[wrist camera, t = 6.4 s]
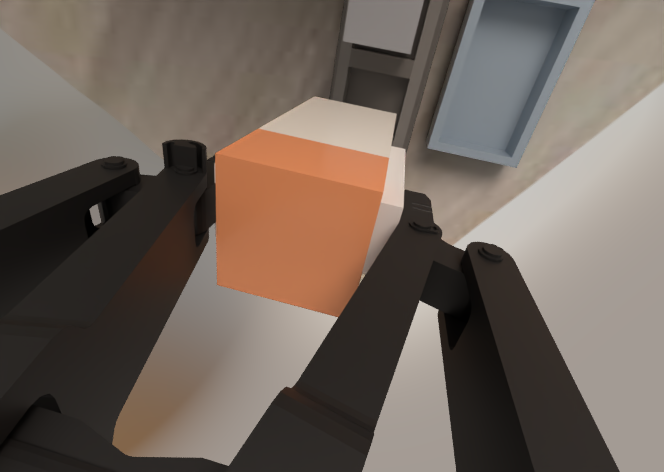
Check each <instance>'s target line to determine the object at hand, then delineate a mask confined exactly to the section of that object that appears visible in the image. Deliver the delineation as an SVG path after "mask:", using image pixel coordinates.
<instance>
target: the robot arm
mask: <svg viewBox="0 0 664 472" xmlns="http://www.w3.org/2000/svg"><path fill="white" fill-rule="evenodd" d="M162 145H163V155H164V164H165V165H164V166H165V168H164V169H163V170H162V171H161V172H160V173H159V174H158V175H157V176H151V175H140V172H139V165H138V163H137V162H136V161H134V160H132V159H127V158H123V157H116V156H111V157H108V158H103V159H98V160H95V161H92V162H89V163H87V164H84V165H82V166H79V167H77V168H73V169H70V170H68V171H65V172H63V173H60V174H57V175H55V176H51V177H49V178H46V179H43V180H41V181H38V182H35V183H32V184H30V185H27V186H25V187H22V188H19V189H16V190H13V191H11V192H8V193H5V194H3V195H0V472H362V470H363V467H364V464H365V461H366V458H367V455H368V452H369V449H370V446H371V443H372V439H373V436H374V430H375V427H376V424H377V421H378V418H379V415H380V412H381V410H382V406H383V404H384V401H385V398H386V395H387V392H388V389H389V386H390V384H391V381H392V378H393V375H394V372H395V369H396V366H397V363H398V361H399V357H400V355H401V352H402V349H403V346H404V343H405V340H406V337H407V335H408V332H409V329H410V326H411V323H412V320H413V317H414V314H415V312H416V309H417V306H418V303H419V300H420V301H422V302H424V303H426V304H428V305H430V306H432V307H434V308H436V309H438V310H439V311H438V322H439V330H440V338H441V347H442V356H443V363H444V372H445V381H446V389H447V397H448V406H449V414H450V422H451V431H452V439H453V447H454V456H455V464H456V472H619V469H618V467H617V465H616V463H615V461H614V460H613V457H612V455H611V454H610V451H609V449H608V448H607V445H606V443H605V441H604V439H603V438H602V436H601V434H600V431H599V429H598V427H597V425H596V424H595V421H594V419H593V417H592V415H591V413H590V411H589V409H588V408H587V405H586V403H585V401H584V399H583V397H582V395H581V393H580V391H579V390H578V387H577V385H576V384H575V381H574V379H573V377H572V375H571V373H570V371H569V370H568V367H567V365H566V363H565V361H564V359H563V357H562V355H561V353H560V351H559V349H558V348H557V345H556V343H555V341H554V339H553V337H552V336H551V333H550V331H549V329H548V327H547V325H546V323H545V321H544V319H543V317H542V315H541V313H540V311H539V309H538V307H537V305H536V303H535V301H534V299H533V297H532V295H531V293H530V291H529V290H528V287H527V285H526V283H525V281H524V279H523V278H522V276H521V273H520V271H519V269H518V267H517V265H516V263H515V261H514V260H513V258H512V257H511V256H510V255H509V254H508V253H506V252H505V251H504V250H503V249H502V248H500V247H497V246H496V245H493V244H488V243H484V242H471V243H470V244H469V245H468V246H467V248H466V250H465V251H463V250H461V249H459V248H456V247H454V246H452V245H450V244H448V243H446V242H444V241H443V240H442V239H441V237H442V230H441V229H440V227H439V226H438V225H436V224H435V223H434V221H433V213H432V208H431V207H432V206H431V200H430V199H429V198H428V197H427V196H426V195H425V194H422V193H417V192H413V191H409V190H404V179H405V149H403V148H398V147H394V146H391V151H390V156H389V162H388V168H387V174H386V180H385V186H384V192H383V196H382V200H381V203H380V207H379V211H378V215H377V218H376V222H375V226H374V230H373V233H372V237H371V241H370V245H369V248H368V252H367V256H366V260H365V263H364V267H363V271H362V274H366V275H365V277H364V278H363V280H362V281H361V283H360V284H359V286H358V288H357V289H356V291H355V292H354V294H353V295H352V297H351V299H350V300H349V302H348V303H347V305H346V306H345V308H344V310H343V311H342V313H341V314H340V316H339V317H338V319H337V321H336V322H335V324H334V325H333V327H332V328H331V330H330V331H329V333H328V335H327V336H326V338H325V339H324V341H323V342H322V344H321V346H320V347H319V349H318V350H317V352H316V354H315V355H314V357H313V358H312V360H311V361H310V363H309V364H308V366H307V367H306V369H305V371H304V372H303V374H302V375H301V377H300V379H299V380H298V381H297V383H296V384H295V385H294V386H293V387H292V388H289V387H285V388H284V389H283V390H282V391H280V393H279V394H278V395H277V396H276V398H275V399H274V401H273V402H272V403H271V405H270V406H269V408H268V409H267V410H266V412H265V414H264V415H263V416H262V418H261V419H260V421H259V422H258V424H257V425H256V427H255V428H254V430H253V431H252V433H251V434H250V436H249V437H248V439H247V440H246V442H245V444H244V445H243V446H242V448H241V449H240V450H239V452H238V454H237V455H236V456H235V458H234V459H233V461H232V462H231V464H230V465H229V466H227V465H223V464H220V463H217V462H214V461H211V460H207V459H204V458H171V457H170V458H168V457H167V458H165V457H131V456H128V455H125V454H124V453H122V452H121V451H120V450H118V449H117V448H116V447H114V446H113V445H112V441H113V434H114V428H115V424H116V421H117V418H118V416H119V414H120V412H121V410H122V408H123V406H124V404H125V402H126V400H127V398H128V396H129V394H130V392H131V390H132V388H133V386H134V384H135V383H136V380H137V379H138V376H139V375H140V373H141V370H142V369H143V367H144V365H145V363H146V361H147V359H148V357H149V355H150V353H151V351H152V349H153V347H154V345H155V344H156V342H157V340H158V338H159V336H160V334H161V332H162V330H163V328H164V326H165V324H166V322H167V320H168V318H169V316H170V314H171V312H172V310H173V308H174V307H175V305H176V303H177V301H178V299H179V297H180V295H181V293H182V291H183V289H184V287H185V285H186V283H187V281H188V279H189V277H190V275H191V273H192V271H193V270H194V268H195V266H196V264H197V262H198V260H199V258H200V256H201V254H202V252H203V250H204V248H205V246H206V244H207V242H208V239H209V227H211V226H212V225H213V224H214V223H215V235H216V177H215V156H213V158H212V157H211V158H209V159H208V160H207V153H206V146H205V145H204V144H202V143H200V142H196V141H192V140H170V141H166V142H164V143H162ZM96 204H98V209H99V213H100V218H101V223H100V224H98V225H96V226H94V224H93V223H92V218H91V215H90V210H89V209H90V208H91V207H92V206H94V205H96Z"/></svg>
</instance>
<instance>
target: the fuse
mask: <svg viewBox="0 0 664 472" xmlns="http://www.w3.org/2000/svg"><path fill="white" fill-rule="evenodd" d="M423 2H424V0H349V4H348V11H347V17H346V23H345V30H344V36H343V41H345V42H350V43H355V44H360V45H365V46H370V47H375V48H380V49H385V50H391V51H396V52H401V53H406V54H411V50H412V46H413V42H414V38H415V34H416V30H417V26H418V22H419V18H420V14H421V10H422V6H423Z"/></svg>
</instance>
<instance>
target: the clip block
mask: <svg viewBox="0 0 664 472" xmlns="http://www.w3.org/2000/svg"><path fill="white" fill-rule="evenodd" d="M449 2H450V0H424V2H423V6H422V10H421V14H420V18H419V22H418V26H417V30H416V34H415V38H414V42H413V46H412V50H411V54H406V53H401V52H396V51H391V50H385V49H380V48H375V47H370V46H365V45H360V44H355V43H350V42H345V41H343V36H344V30H345V23H346V17H347V11H348V4H349V0H344V7H343V13H342V20H341V26H340V33H339V39H338V46H337V53H336V59H335V66H334V72H333V79H332V85H331V92H330V98H329V100H334V101H339V102H343V103H348V104H353V105H357V106H362V107H367V108H372V109H376V110H381V111H386V112H390V113H395V114H397V115H396V121H395V127H394V133H393V139H392V145H391V146H394V147H398V148H403V149H405V156H406V152H407V149H408V145H409V142H410V138H411V135H412V131H413V128H414V124H415V121H416V117H417V114H418V110H419V107H420V103H421V100H422V96H423V93H424V89H425V86H426V82H427V79H428V75H429V72H430V68H431V65H432V61H433V58H434V54H435V51H436V47H437V44H438V40H439V37H440V33H441V30H442V26H443V23H444V19H445V16H446V12H447V9H448V5H449Z"/></svg>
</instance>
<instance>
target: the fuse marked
mask: <svg viewBox="0 0 664 472" xmlns="http://www.w3.org/2000/svg"><path fill="white" fill-rule="evenodd" d="M396 115H397V114H395V113H390V112H386V111H381V110H376V109H372V108H367V107H362V106H357V105H353V104H348V103H343V102H339V101H334V100H329V99H325V98H320V97H315V96H314V97H313V98H311V99H309V100H307V101H306V102H304V103H302V104H300V105H299V106H297V107H295V108H293V109H292V110H290V111H288V112H286V113H285V114H283V115H281V116H279V117H278V118H276V119H274V120H272V121H271V122H269V123H267V124H265V125H264V126H262V127H260V128H258V129H257V130H255V131H253V132H251V133H250V134H248V135H246V136H245V137H243V138H241V139H239V140H238V141H236V142H234V143H232V144H231V145H229V146H227V147H225V148H224V149H222V150H220V151H218V152H217V153H215V177H216V242H217V243H216V244H217V285H219V286H223V287H227V288H231V289H235V290H238V291H242V292H246V293H250V294H253V295H257V296H261V297H265V298H268V299H272V300H276V301H280V302H283V303H287V304H291V305H294V306H298V307H302V308H306V309H310V310H313V311H317V312H321V313H325V314H328V315H332V316H336V317H339V316H340V314H341V313H342V311H343V310H344V308H345V306H346V305H347V303H348V302H349V300H350V299H351V297H352V295H353V294H354V292H355V291H356V289H357V288H358V286H359V282H360V278H361V275H362V271H363V267H364V263H365V260H366V256H367V252H368V248H369V245H370V241H371V237H372V233H373V230H374V226H375V222H376V218H377V215H378V211H379V207H380V203H381V200H382V196H383V192H384V186H385V180H386V174H387V168H388V162H389V156H390V151H391V145H392V139H393V133H394V127H395V121H396Z"/></svg>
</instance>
